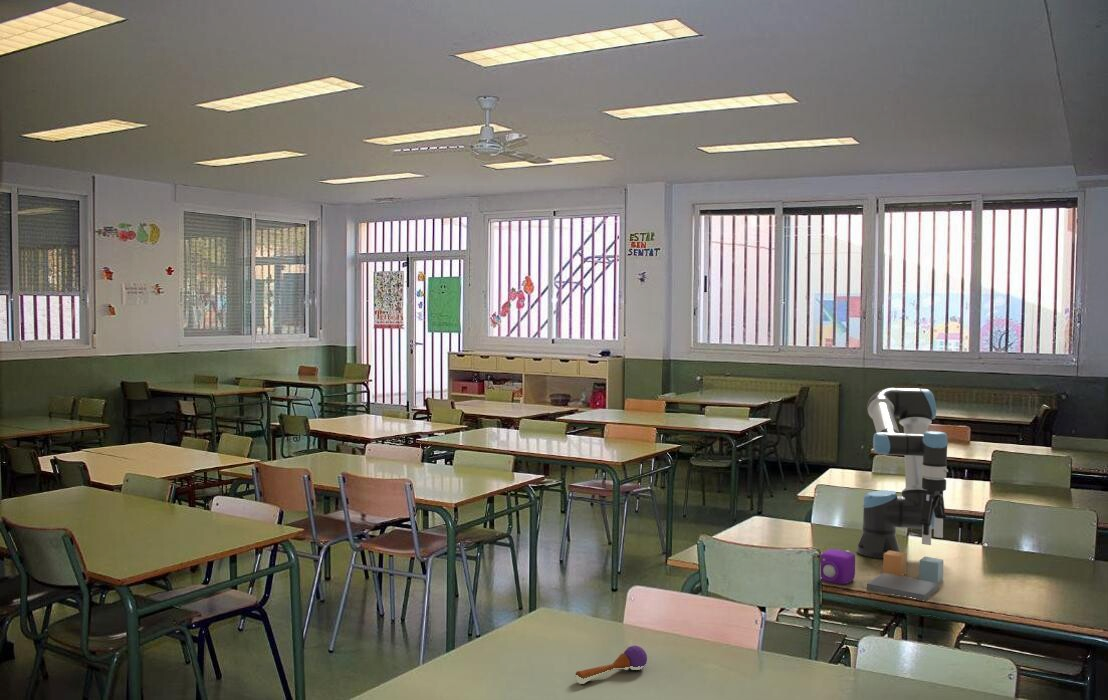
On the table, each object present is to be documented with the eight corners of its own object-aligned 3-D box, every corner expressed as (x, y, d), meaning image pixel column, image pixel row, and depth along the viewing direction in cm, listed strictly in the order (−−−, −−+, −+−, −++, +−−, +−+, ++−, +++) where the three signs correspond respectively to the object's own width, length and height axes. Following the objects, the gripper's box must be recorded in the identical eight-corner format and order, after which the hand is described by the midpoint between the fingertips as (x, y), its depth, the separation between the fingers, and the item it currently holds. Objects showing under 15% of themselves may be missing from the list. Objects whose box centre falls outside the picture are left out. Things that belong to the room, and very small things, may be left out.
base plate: (866, 589, 290) (866, 583, 290) (883, 578, 303) (883, 572, 303) (924, 601, 279) (924, 594, 279) (938, 589, 292) (939, 583, 291)
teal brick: (919, 580, 301) (919, 560, 301) (924, 576, 306) (924, 556, 306) (937, 584, 297) (938, 563, 297) (942, 580, 302) (943, 559, 302)
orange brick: (883, 573, 309) (883, 553, 308) (888, 570, 313) (889, 550, 313) (900, 577, 305) (901, 556, 305) (906, 573, 310) (906, 553, 309)
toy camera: (815, 584, 295) (815, 554, 295) (823, 574, 307) (824, 545, 307) (848, 589, 290) (849, 559, 290) (856, 578, 302) (856, 549, 302)
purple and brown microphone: (570, 664, 215) (634, 641, 227) (574, 689, 215) (638, 665, 226) (584, 667, 211) (649, 644, 222) (588, 693, 210) (653, 668, 221)
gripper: (935, 484, 288) (933, 549, 289) (956, 474, 308) (954, 536, 308) (911, 481, 293) (909, 545, 293) (933, 472, 312) (931, 532, 313)
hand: (932, 540), depth 301 cm, fingers open, 13 cm apart
